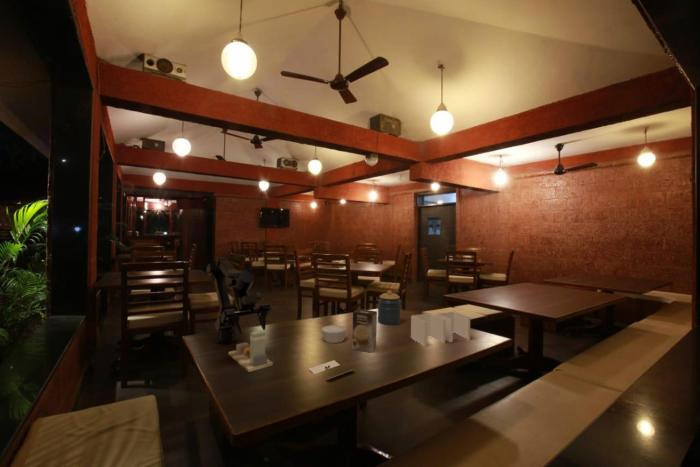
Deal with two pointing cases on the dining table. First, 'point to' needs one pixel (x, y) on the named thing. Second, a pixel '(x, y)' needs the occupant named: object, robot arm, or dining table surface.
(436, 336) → the white folding screen
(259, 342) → the marker sleeve
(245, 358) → the cable comb board
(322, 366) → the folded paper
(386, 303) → the canister
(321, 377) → the dining table surface
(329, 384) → the dining table surface
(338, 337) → the ramekin
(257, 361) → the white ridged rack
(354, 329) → the coffee box
